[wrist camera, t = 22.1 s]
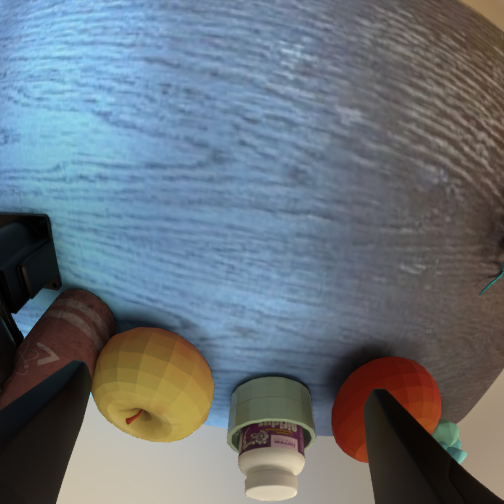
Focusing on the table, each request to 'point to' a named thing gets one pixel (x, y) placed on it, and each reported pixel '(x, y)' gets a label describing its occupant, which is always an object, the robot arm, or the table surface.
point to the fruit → (398, 384)
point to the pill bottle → (271, 459)
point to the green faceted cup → (271, 407)
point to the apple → (153, 384)
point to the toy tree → (449, 439)
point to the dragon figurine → (494, 279)
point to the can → (60, 341)
